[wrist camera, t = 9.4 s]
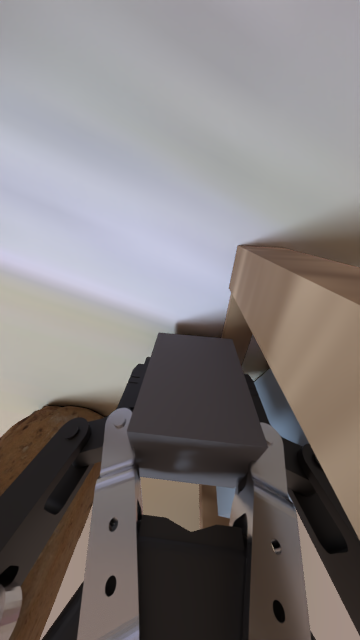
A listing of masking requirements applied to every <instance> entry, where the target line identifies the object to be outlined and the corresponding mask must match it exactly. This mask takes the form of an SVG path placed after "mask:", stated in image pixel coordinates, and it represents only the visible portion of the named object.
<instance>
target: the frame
mask: <svg viewBox="0 0 360 640" xmlns="http://www.w3.org/2000/svg"><path fill="white" fill-rule="evenodd" d="M229 289H230V291H231V296H230V300H229V305H228V310H227V314H226V319H225V323H224V328H223V332H222V337H221V338H224V339H232V340H233V343H234V346H235V349H236V352H237V355H238V358H239V361H240V364H241V366H242V363H243V360H244V358H245V355H246V352H247V349H248V346H249V343H250V340H251V337H252V334H253V335H254V337H255V339H256V341H257V343H258V345H259V347H260V349H261V351H262V353H263V355H264V357H265V359H266V361H267V362H268V364H269V366H270V368H271V370H272V372H273V374H274V376H275V378H276V380H277V382H278V384H279V386H280V388H281V389H282V391H283V393H284V395H285V397H286V399H287V401H288V403H289V405H290V407H291V409H292V411H293V413H294V415H295V416H296V418H297V420H298V422H299V424H300V426H301V428H302V430H303V432H304V434H305V436H306V438H307V440H308V442H309V443H310V445H311V447H312V449H313V451H314V453H315V455H316V457H317V459H318V461H319V463H320V465H321V467H322V469H323V470H324V472H325V474H326V476H327V478H328V480H329V482H330V484H331V486H332V488H333V490H334V492H335V494H336V495H337V497H338V499H339V501H340V503H341V505H342V507H343V509H344V511H345V513H346V515H347V517H348V519H349V521H350V522H351V524H352V526H353V528H354V530H355V532H356V534H357V536H358V538H359V540H360V267H356V266H352V265H348V264H344V263H340V262H336V261H332V260H329V259H325V258H321V257H317V256H313V255H309V254H305V253H301V252H298V251H294V250H290V249H286V248H276V247H256V246H238V247H237V251H236V256H235V261H234V266H233V271H232V276H231V280H230V285H229ZM199 504H200V507H199V509H200V529H204V528H207V527H210V526H213V525H216V524H217V525H224V526H229V522H230V518H226V517H222V516H218V505H217V491H216V486H211V485H203V484H199Z"/></svg>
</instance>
